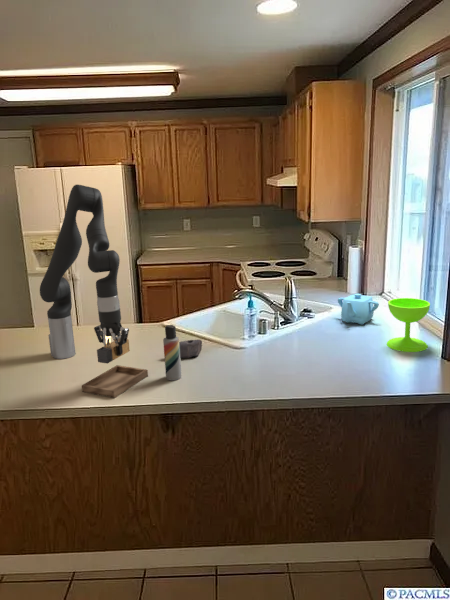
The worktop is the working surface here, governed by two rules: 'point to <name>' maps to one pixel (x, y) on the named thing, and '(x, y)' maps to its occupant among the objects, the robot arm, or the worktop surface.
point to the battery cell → (111, 352)
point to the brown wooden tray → (115, 381)
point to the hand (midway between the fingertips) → (114, 354)
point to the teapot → (357, 308)
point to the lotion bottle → (172, 353)
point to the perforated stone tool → (190, 348)
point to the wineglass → (408, 322)
